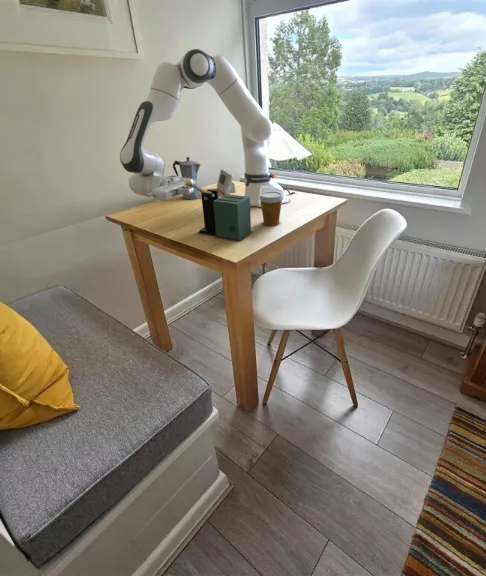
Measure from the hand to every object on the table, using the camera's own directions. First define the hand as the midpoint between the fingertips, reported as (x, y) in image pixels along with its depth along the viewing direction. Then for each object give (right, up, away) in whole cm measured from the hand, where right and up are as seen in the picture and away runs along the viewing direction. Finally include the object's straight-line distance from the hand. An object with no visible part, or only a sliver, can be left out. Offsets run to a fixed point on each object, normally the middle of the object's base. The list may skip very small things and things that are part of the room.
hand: (191, 191), depth 125 cm
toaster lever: (+3, -1, -1) cm, 3 cm away
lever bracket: (+8, -15, +5) cm, 17 cm away
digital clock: (+8, +16, +54) cm, 57 cm away
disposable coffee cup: (+31, -10, +11) cm, 35 cm away
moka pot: (-10, +10, +46) cm, 48 cm away
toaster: (+16, -17, +1) cm, 23 cm away
